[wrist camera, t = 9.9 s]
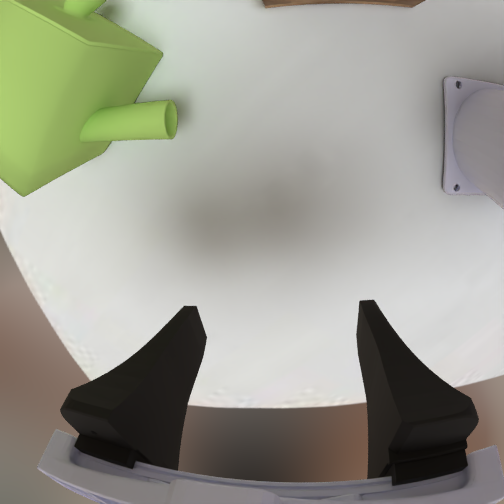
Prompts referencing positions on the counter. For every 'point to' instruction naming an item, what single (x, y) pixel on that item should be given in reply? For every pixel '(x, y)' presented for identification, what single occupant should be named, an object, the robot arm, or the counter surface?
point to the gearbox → (70, 89)
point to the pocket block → (288, 0)
